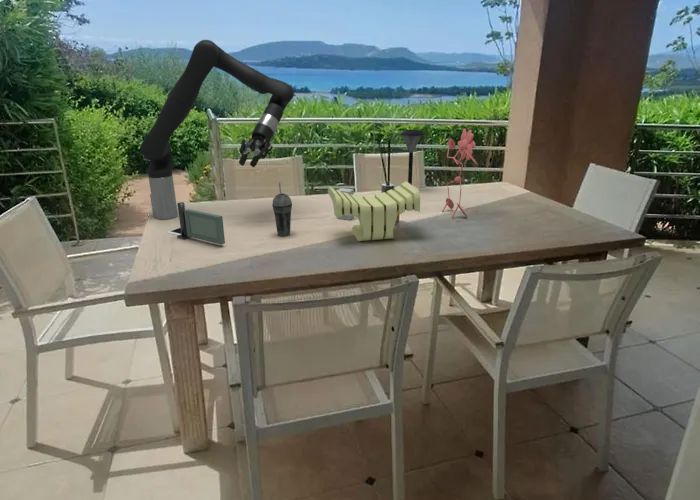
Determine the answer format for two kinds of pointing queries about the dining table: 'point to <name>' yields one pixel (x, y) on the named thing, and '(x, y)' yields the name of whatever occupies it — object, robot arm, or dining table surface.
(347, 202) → the slatted curved stool
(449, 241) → the dining table surface
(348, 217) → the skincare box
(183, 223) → the post
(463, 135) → the figurine
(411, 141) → the solar garden light
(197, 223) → the green rectangular panel
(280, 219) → the beverage cup
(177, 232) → the cell phone
